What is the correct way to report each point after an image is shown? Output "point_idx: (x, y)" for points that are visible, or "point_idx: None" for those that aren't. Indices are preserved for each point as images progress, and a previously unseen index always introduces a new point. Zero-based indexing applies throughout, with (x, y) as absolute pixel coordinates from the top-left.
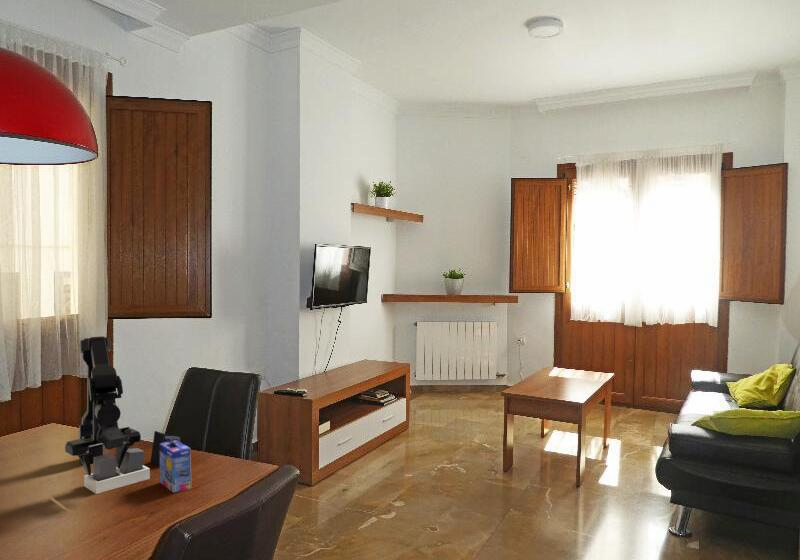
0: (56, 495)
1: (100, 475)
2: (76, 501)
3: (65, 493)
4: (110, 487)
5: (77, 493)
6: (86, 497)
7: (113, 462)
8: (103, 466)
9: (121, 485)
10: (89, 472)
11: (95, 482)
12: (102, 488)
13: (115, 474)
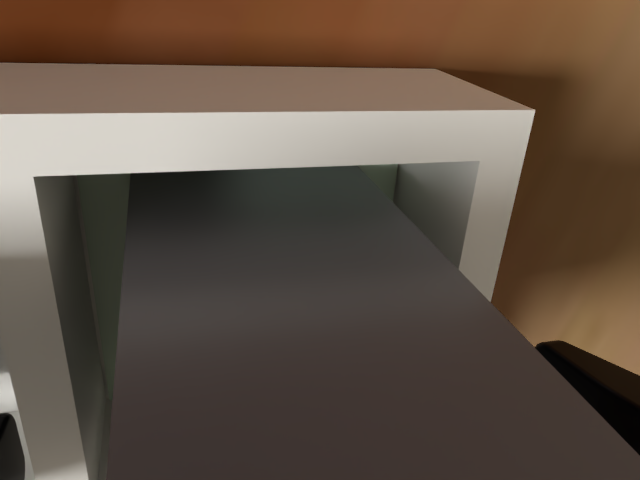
0: (608, 337)
1: (438, 255)
2: (635, 65)
3: (551, 337)
4: (263, 75)
5: (501, 273)
6: (521, 100)
7: (200, 442)
8: (470, 366)
9: (73, 73)
10: (600, 364)
11: (525, 143)
12: (385, 83)
13: (136, 251)
